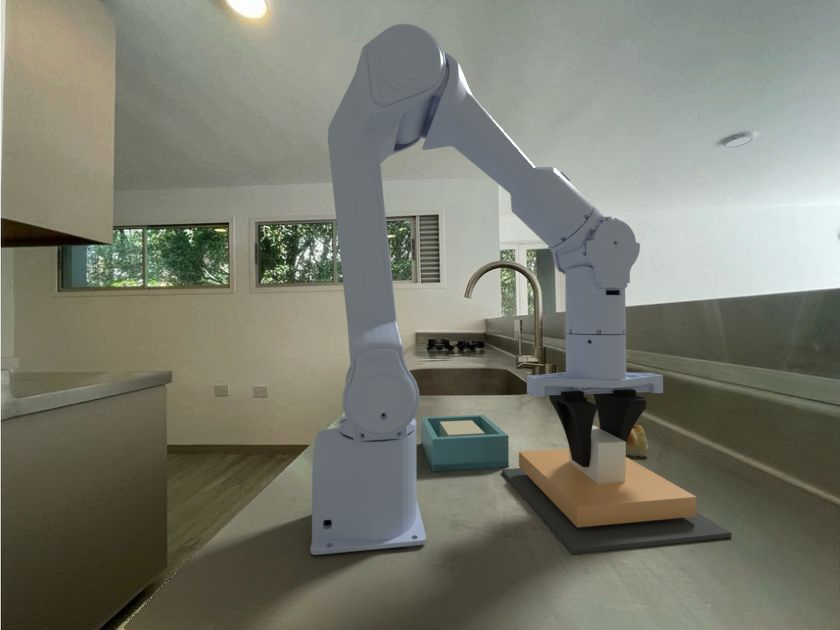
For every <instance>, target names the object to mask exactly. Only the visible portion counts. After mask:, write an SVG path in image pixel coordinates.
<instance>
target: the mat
mask: <svg viewBox="0 0 840 630" xmlns="http://www.w3.org/2000/svg"><path fill="white" fill-rule="evenodd" d="M501 473H502V474H503V476H505V479H507V480H508V481H509V483H511V485H512V487H514V489H515V490H516V491H517V492H518V494H520V495H521V497H522V498H523V499H524V500H525V501H526V502H527V504H528V505H529V506H530V507H531V508H532V509H533V510H534V511H535V513H536V514H537V515H538V516H539V517H540V518H541V520H542V521H543V523H545V525H547V527H548V528H549V529H550V530H551V531H552V533H554V535H555V536H556V538H558V539H559V541H560V542H561V543H562V544H563V545H564V546H565V547H566V548H567V550H568V551H569V552H570V554H572V555H577V554H578V555H579V554H586V553H596V552H605V551H606V552H607V551H616V550H623V549H634V548H644V547H654V546H663V545H671V544H680V543H692V542H700V541H711V540H719V539H729V538H733V537H732V533H733V532H731V531H730V530H728V529H726V528H725V527H722V526H721V525H719V524H717V523H716V522H714V521H712V520H710V519H708V518H707V517H705V516H704V515H703V514H701V513H699V512H697V511H696V516H695V517H684V518H674V519H663V520H652V521H641V522H631V523H620V524H609V525H598V526H588V527H576V526H575V525H574V524H573V522H572V521H571V520H570V519H569V518H568V517H567V516H566V515H565V514H564V513H563V512H562V511H561V510H560V509H559V508H558V507H557V506H556V505H555V504H554V503H553V502H552V501H551V499H550V498H549V497H548V496H547V495H546V494H545V493H544V492H543V491H542V490H541V489H540V488H539V487H538V486H537V485H536V484H535V483H534V482H533V481H532V480H531V479H530V478H529V476H528V475H527V474H526V473H525V472H524V471H523V470H522V469H521V468H520V467H519V468H504V469H503V468H502V469H501Z"/></svg>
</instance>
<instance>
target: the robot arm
mask: <svg viewBox="0 0 840 630" xmlns="http://www.w3.org/2000/svg"><path fill="white" fill-rule="evenodd" d="M329 123H330V124H329V126H328V128H327V129H328V130H327V143H328V153H329V162H330V174H331V181H332V183H331V184H332V191H333V201H334V209H335V220H336V229H337V230H336V231H337V236H338V237H337V238H338V248H339V249H338V250H339V255H340V256H339V257H340V267H341V276H342V277H341V278H342V284H343V285H342V286H343V294H344V304H345V313H346V314H345V315H346V323H347V335H348V348H349V349H348V352H349V360H350V361H349V363H350V364H349V368H348V370H347V373H346V376H345V387H343V388H344V390H343V392H342V410H343V413H344V417H341V419H340V420H339V423H338V426H337V427H333V428H325V429H324V428H323V429H320V430H318V431H317V434H316V436H315V437H316V438H315V441H314V447H313V457H312V469H311V470H312V471H311V472H312V473H311V476H312V478H311V483H312V485H311V488H312V489H311V490H312V491H311V493H312V494H311V544H310V554H311V555H313V556H316V555H317V556H318V555H327V554H328V555H329V554H339V553H349V552H350V553H351V552H352V553H353V552H361V551H370V550H381V549H393V548H403V547H412V546H422V545H425V544H426V543H427V534H426V531H425V526H424V522H423V518H422V515H421V511H420V507H419V503H418V499H417V422H418V421H417V420H416V418H415V417H416V414H417V412H418V409H419V405H420V389H419V387H418V383H417V380H416V379H415V377H414V376H413V374H412V373H411V371H410V370H409V368H408V366H407V363H406V361H405V355H404V346H403V341H402V338H401V334H400V331H399V330H400V329H399V325H398V320H397V312H396V303H395V302H396V301H395V293H394V283H393V273H392V262H391V254H390V247H389V246H390V244H389V237H388V235H389V234H388V227H387V217H386V208H385V199H384V189H383V179H382V169H381V164H382V163H383V162H385V161H386V160H387V159H388V158H389V157H390V156H392V155H395V154H397V153H400V152H402V151H405V150H407V149H409V148H412V147H413V146H415V145H417V143H419V142H420V140H421V139H422V138H423V139H424V141H423V145H422V147H421V149H422V150H423V151H428V150H435V149H440V148H447V147H452V148H454V149H456V151H458V152H459V153H460V154H461V155H462V156H464V157H465V158H466V159H467V160H469V161H470V162H471V163H472V164H473V165H474V166H476V167H477V168H478V169H479V170H481V171H482V172H483V173H484V174H486V175H487V176H488V177H489V178H491V180H492V181H494V182H495V183H497V184H498V186H501V188H502V189H503V190H505V191H506V192H507V193H509V195H510V206H511V207H510V208H511V212H512V213H513V214H514V215H515V216H516V217H518V219H519V220H520V221H521V222H522V223H524V225H525V226H527V228H528V229H530V230H531V231H532V232H533V233H534V234H535V235H536V236H537V237H538V238H539V239H540V240H541V241H543V243H544V244H545V245H547V246H548V247H547V248H548V249H549V250H550V252H551V254H552V258H553V259H552V260H553V263H554V266H555V268H556V270H557V271H558V272H559V273H562V274H563V275H564V276H565V277H564V282H565V283H564V284H565V286H564V288H565V290H564V291H565V292H564V293H565V297H564V298H565V299H564V302H565V304H564V305H565V372H563V371H562V372H555V373H546V374H535V375H531V374H530V375H527V376H526V394H527V395H530V396H533V397H535V398H545V397H546V396H548V398H549V401H550V403H551V405H552V406H553V409H554V411H555V412H556V414H557V415H558V418H559V420H560V423H561V426H562V428H563V431H564V434H565V437H566V440H567V444H568V449H569V448H570V452H571V457H572V460H573V461H574V462H576V463H577V464H579V465H580V466H582V467H589V464H590V458H591V432H592V426H593V425H594V419H595V416H596V412H597V416H598V422H599V425H600V429H602V430H604V431H606V432H608V433H609V434H611V435H613V436H615V437H617V438H619V439H621V440H623V441H625V442H626V444H627V441H628V438H629V435H630V433H631V431H632V429H633V427H634V425H636V423H637V421H638V420H639V418H640V417H641V416H642V414H643V413H644V411H645V410H646V409H647V398H646V397H643V396H639V395H637V393H652V394H664V375H663V374H657V373H653V372H627V331H626V330H627V327H626V326H627V325H626V323H627V322H626V321H627V319H626V306H627V305H626V288H627V287H628V285H629V284H630V283H631V280H630V279H631V277H630V276H631V273H630V272H631V269H632V267H633V265H634V264H635V263H636V261H637V259H638V258H639V254H640V251H641V244H640V242H637V241H636V240H637V239H636V236H635V233H634V231H633V229H632V228H631V227H630V226H629V225H628V223H626V222H624V221H623V220H620V219H619V218H616V217H613V218H612V216H604V215H603V214H602V213H601V211H600V210H599V209H598V208H597V207H596V206H594V205H593V204H592V203H591V202H590V200H588V199H587V198H586V197H585V196H584V195H583V194H582V193H581V192H580V191H579V190H578V189H577V188H576V187H575V186H574V185H573V184H572V183H571V179H570V177H569V176H567V174H566V173H565V172H563V171H561V172H560V171H559V170H558V169H557V168H556V167H555V166H535V165H534V164H533V162H531V161H530V159H529V158H528V157H527V155H526V154H525V153H524V152H523V151H522V150H521V149H520V148H519V146H517V144H516V143H515V142H514V141H513V139H512V138H510V136H509V135H508V134H507V133H506V132H505V131H504V129H503V128H502V127H501V126H500V125H499V124H498V123H497V121H496V120H495V119H494V118H493V117H492V116H491V114H490V113H488V111H487V110H486V109H485V108H484V107H483V106H482V104H481V103H480V102H479V101H478V100H477V99H476V98H475V97H474V95H473V94H472V92H471V90H470V88H469V85H468V83H467V79H466V78H465V75H464V73H463V70H462V69H461V66H460V64H459V62H458V60H457V59H456V58H454V57H453V56H452V55H450V54H449V53H447V51H446V52H444V51H443V49H442V47H441V44H440V43H439V42H438V40H437V39H436V38H435V37H434V36H433V35H432V34H431V33H430V32H428V31H427V30H426V29H424V28H422V27H420V26H418V25H413V24H409V23H400V24H399V23H398V24H395V25H392V26H389V27H388V28H386V29H384V30H383V31H381V32H380V33H379V34H378V35H376V36H375V37H373V39H371V40H370V41H368V42H367V43H366V44H364V45H363V47H362V50H361V52H360V56H359V59H358V62H357V66H356V69H355V72H354V75H353V78H352V79H351V82H350V83H349V85H348V86H347V89H346V92H345V93H344V95H343V97H342V99H341V101H340V102H339V105H338V107H337V109H336V111H335V113H334V115H333V117H332V119H331V121H330V122H329ZM585 395H593V398H594V402H595V403H594V402H591V401H589V400H588V398H587V397H585Z"/></svg>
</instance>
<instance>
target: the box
mask: <svg viewBox="0 0 840 630" xmlns="http://www.w3.org/2000/svg"><path fill="white" fill-rule="evenodd" d="M420 425H421V426H420V431H421V434H420V436H421V437H420V440H421V441H420V442H421V446H422V448H423V449H422V450H423V451H424V453H425V456H426V459H427V461H428V464H429V466H430V468H431V472H433V473H434V472H445V471H446V472H449V471H461V470H462V471H463V470H464V471H465V470H478V469H494V468H495V469H496V468H508V467H510V466H509V465H510V464H509V461H510V459H509V458H510V457H509V454H510V453H509V435H508V434H507V433H506V432H505V431H503V429H501V428H500V427H498V425H496V424H495V423H494V422H493V421H492V420H490V418H488V417H487V416H485V415H484V414H471V415H470V414H469V415H446V416H445V415H444V416H424V417H423V416H422V417H421V418H420Z"/></svg>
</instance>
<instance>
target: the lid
mask: <svg viewBox="0 0 840 630" xmlns="http://www.w3.org/2000/svg"><path fill="white" fill-rule="evenodd" d="M518 467H519V468H521V469H522V470H523V471H524V472H525V473H526V474H527V475H528V476H529V478H530V479H531V480H532V481H533V482H534V483H535V484H536V485H537V486H538V487H539V488H540V489H541V490H542V491H543V492H544V493H545V494H546V495H547V496H548V497H549V498H550V499H551V501H552V502H553V503H554V504H555V505H556V506H557V507H558V508H559V509H560V510H561V511H562V512H563V513H564V514H565V515H566V516H567V517H568V518H569V519H570V520H571V521H572V522H573V524H574V525H575V526H576V527H588V526H598V525H609V524H620V523H631V522H641V521H652V520H663V519H674V518H684V517H695V516H696V512H697V496H696V495H694V494H692V493H690V492H689V491H687V490H685V489H684V488H681V487H679V486H678V485H677V484H674V483H673V482H671V481H669V480H667V479H666V478H664V477H662V476H661V475H659V474H657V473H655V472H653V471H652V470H650V469H649V468H647V467H645V466H643V465H641V464H639V463H638V462H635V460H633V459H631V458H629V457H627V455H626V442H625V441H623V440H621V439H619V438H617V437H615V436H613V435H611V434H609V433H608V432H606V431H604V430H602V429H600V428H598V427H596V425H594V424H593V426H592V432H591V458H590V464H589V467H582V466H580V465H579V464H577V463H576V462H574V461H573V460H572V457H571V452H570V448H569V447H568V448H562V449H561V448H560V449H559V448H557V449H543V450H542V449H541V450H523V451H518Z"/></svg>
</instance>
